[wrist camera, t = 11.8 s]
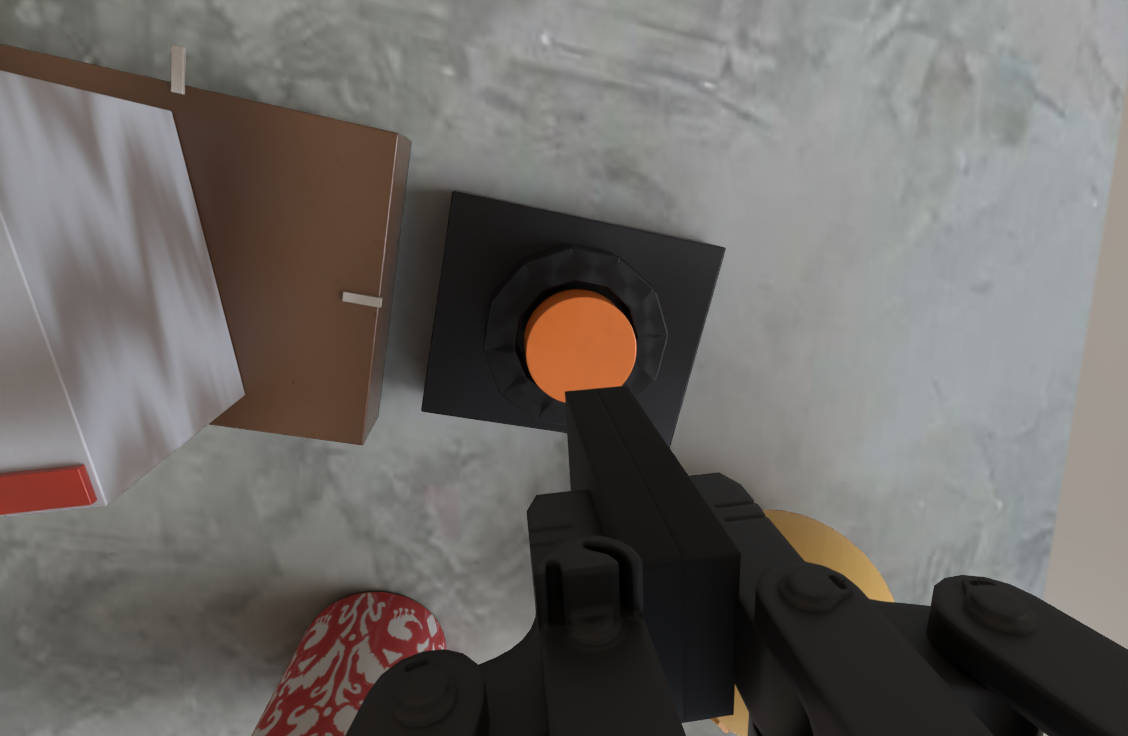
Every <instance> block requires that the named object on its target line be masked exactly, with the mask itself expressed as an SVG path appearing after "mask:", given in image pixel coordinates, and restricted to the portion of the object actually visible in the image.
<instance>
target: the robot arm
mask: <svg viewBox="0 0 1128 736" xmlns="http://www.w3.org/2000/svg"><path fill="white" fill-rule="evenodd" d="M565 402H566V419H567V435H568V451H569V467H570V483H571V491H568V492H559V493H551V494H542V495H536V497H535V498H534V500H533V502H532V503H531V505H530V507H529V508H528V510H527V520H528V531H529V542H530V553H531V564H532V575H533V586H534V596H535V606H536V617H535V620H534V622H533V625H532V627H531V629H530V631H529V632H528V633H527V635H526V636H525V637H524V638H523V640H522V641H520V642H519V643H518V644H517V645H516V646H514V647H513V648H512V649H511V650H509V651H507V652H505V653H503V654H502V655H500V656H498V657H496V658H494V659H491V660H489V661H486V662H484V663H482V664H479V665H478V664H477V663H475V662H474V661H473V660H471V659H470V658H469V657H467V656H466V655H464V654H463V653H459V652H454V651H450V650H446V649H441V650H431V651H422V652H420V653H417V654H415V655H412V656H410V657H407V658H405V659H402V660H400V661H399V662H398V663H396V664H395V665H393V666H392V667H391V668H389V669H388V670H387V671H385V672H384V673H383V674H381V676H380V677H379V678H378V680H377V681H376V682H375V684H374V685H373V686H372V688H371V689H370V690H369V692H368V693H367V695H366V697H365V699H364V701H363V703H362V705H361V706H360V708H359V710H358V712H357V714H356V716H355V718H354V720H353V722H352V724H351V726H350V727H349V729H348V731H347V733H346V735H345V736H686V735H685V732H684V729H683V726H682V724H681V723H684V722H691V721H697V720H704V719H710V718H717V717H723V716H730V715H734V695H735V685H736V687H737V689H738V691H739V693H740V695H741V697H742V699H743V702H744V704H745V706H746V708H747V710H748V712H749V719H748V736H1043V733H1046V734H1047V735H1048V736H1128V649H1126V648H1124V647H1122V646H1121V645H1119V644H1117V643H1115V642H1114V641H1112V640H1110V639H1109V638H1107V637H1105V636H1103V635H1101V634H1100V633H1098V632H1096V631H1094V630H1093V629H1091V628H1089V627H1088V626H1086V625H1084V624H1082V623H1081V622H1079V621H1077V620H1076V619H1074V618H1072V617H1070V616H1068V615H1067V614H1065V613H1063V612H1062V611H1060V610H1058V609H1056V608H1055V607H1053V606H1051V605H1050V604H1048V603H1046V602H1044V601H1043V600H1041V599H1039V598H1037V597H1036V596H1034V595H1032V594H1030V593H1027V592H1025V591H1023V590H1021V589H1019V588H1017V587H1015V586H1012V585H1010V584H1007V583H1004V582H1000V581H996V580H993V579H990V578H986V577H977V576H966V575H960V576H954V577H948V578H944V579H943V580H942V581H940V582H939V583H937V584H936V585H935V586H934V590H933V596H932V602H931V606H924V605H915V604H905V603H896V602H886V601H879V600H873V599H869V598H868V597H867V596H866V595H865V594H864V593H863V592H862V590H861V589H860V588H859V587H858V586H857V585H855V584H854V583H853V582H852V581H850V580H849V579H848V578H847V577H845V576H844V575H843V574H841V573H839V572H836V571H834V570H832V569H830V568H828V567H826V566H823V565H818V564H814V563H810V562H805V561H804V560H803V558H802V557H801V556H800V555H799V554H798V552H797V551H796V550H795V549H794V548H793V547H792V545H791V544H790V543H789V542H788V541H787V539H786V538H785V537H784V536H783V535H782V533H781V532H780V531H779V530H778V529H777V527H776V526H775V525H774V524H773V523H772V521H771V520H770V519H769V518H768V517H765V513H764V512H763V511H762V509H761V508H760V507H759V506H758V505H757V504H755V503H754V500H753V499H752V498H751V496H750V495H749V494H748V493H747V492H746V490H745V489H744V488H743V487H742V486H741V485H740V484H739V483H737V482H735V481H733V480H731V479H730V478H728V477H726V476H724V475H723V474H721V473H711V474H702V475H693V476H688V475H687V473H686V472H685V470H684V469H683V467H682V466H681V464H680V463H679V461H678V460H677V459H676V457H675V456H674V454H673V453H672V451H671V450H670V448H669V447H668V445H667V444H666V442H665V441H664V439H663V438H662V436H661V435H660V433H659V432H658V431H657V429H656V428H655V426H654V425H653V423H652V422H651V420H650V419H649V417H648V416H647V414H646V413H645V411H644V410H643V408H642V407H641V405H640V404H639V403H638V401H637V400H636V398H635V397H634V395H633V394H632V392H631V391H630V389H629V388H628V386H627V385H626V386H616V387H606V388H595V389H585V390H574V391H565Z"/></svg>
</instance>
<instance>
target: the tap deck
mask: <svg viewBox="0 0 1128 736" xmlns="http://www.w3.org/2000/svg"><path fill="white" fill-rule="evenodd" d="M185 64H186V48H184V47H181V46H176V45H171V82H168V81H164V80H159V79H155V78H150V77H146V76H141V75H137V74H133V73H128V72H124V71H119V70H115V69H110V68H106V67H101V66H97V65H92V64H88V63H84V62H79V61H75V60H70V59H66V58H61V57H57V56H52V55H48V54H43V53H39V52H35V51H30V50H26V49H21V48H17V47H12V46H8V45H3V44H0V70H2V71H6V72H10V73H14V74H19V75H23V76H27V77H31V78H35V79H40V80H44V81H48V82H52V83H56V84H61V85H65V86H69V87H73V88H77V89H82V90H86V91H90V92H94V93H98V94H103V95H107V96H111V97H115V98H119V99H124V100H128V101H132V102H136V103H140V104H145V105H149V106H153V107H157V108H161V109H166V110H170V111H171V112H172V115H173V119H174V123H175V126H176V130H177V134H178V138H179V142H180V146H181V150H182V153H183V157H184V161H185V165H186V169H187V173H188V176H189V180H190V184H191V188H192V192H193V196H194V200H195V203H196V207H197V211H198V215H199V219H200V223H201V227H202V230H203V234H204V238H205V242H206V246H207V250H208V253H209V257H210V261H211V265H212V269H213V273H214V277H215V280H216V284H217V288H218V292H219V296H220V300H221V303H222V307H223V311H224V315H225V319H226V323H227V327H228V330H229V334H230V338H231V342H232V346H233V350H234V354H235V357H236V361H237V365H238V369H239V373H240V377H241V380H242V384H243V388H244V392H245V395H244V396H243V397H242V398H240V399H239V400H238V401H237V402H235V403H234V404H233V405H232V406H230V407H229V408H228V409H227V410H225V411H224V412H223V413H222V414H220V415H219V416H218V417H217V418H216V419H214V420H213V421H212V422H211V423H209V424H210V425H217V426H224V427H232V428H239V429H247V430H254V431H261V432H269V433H276V434H283V435H291V436H298V437H306V438H313V439H320V440H328V441H335V442H342V443H350V444H357V445H363V444H364V442H365V440H366V439H367V437H368V435H369V433H370V431H371V429H372V427H373V426H374V424H375V422H376V420H377V418H378V415H379V407H380V399H381V390H382V382H383V374H384V366H385V357H386V349H387V341H388V332H389V324H390V316H391V308H392V299H393V291H394V283H395V274H396V266H397V258H398V250H399V241H400V233H401V225H402V217H403V208H404V200H405V192H406V183H407V175H408V167H409V159H410V150H411V140H409V139H407V138H406V137H404V136H402V135H400V134H398V133H395V132H391V131H387V130H382V129H378V128H373V127H369V126H364V125H360V124H355V123H351V122H346V121H342V120H338V119H333V118H329V117H324V116H320V115H315V114H311V113H306V112H302V111H297V110H293V109H289V108H284V107H280V106H275V105H271V104H266V103H262V102H257V101H253V100H248V99H244V98H240V97H235V96H231V95H226V94H222V93H217V92H213V91H208V90H204V89H199V88H195V87H191V86H186V85H185Z"/></svg>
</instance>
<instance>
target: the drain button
mask: <svg viewBox="0 0 1128 736" xmlns="http://www.w3.org/2000/svg"><path fill="white" fill-rule="evenodd" d="M524 348H525V354H526V361H527V366H528V369H529V372H530V374H531V376H532V378H533V380H534V381H535V383H536V384H537V385H538V386H539V388H540V389H541V390H543V391H544V392H545V393H546V394H548V395H549V396H550V397H552V398H554V399H556V400H559V401H562V402H565V391H574V390H585V389H595V388H606V387H616V386H622V385H623V383H624V382H625V381H626V380H627V378H628V377H629V375H630V373H631V371H632V369H633V366H634V363H635V359H636V350H637V346H636V338H635V334H634V331H633V328H632V326H631V324H630V322H629V321H628V319H627V318H626V317H625V315H624V314H623V313H622V312H621V311H620V310H619V309H618V308H617V307H616V306H615V305H614V304H613V303H612V302H611V301H610V300H608V299H607V298H606V297H604V296H603V295H601V294H599V293H596V292H594V291H590V290H586V289H569V290H564V291H560V292H558V293H555V294H553V295H551V296H550V297H548V298H546V299H545V300H544V301H543V302H541V303H540V304H539V305H538V306H537V307H536V309H535V310H534V311H533V313H532V314H531V316H530V318H529V320H528V322H527V325H526V329H525V334H524ZM565 403H566V402H565Z"/></svg>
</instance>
